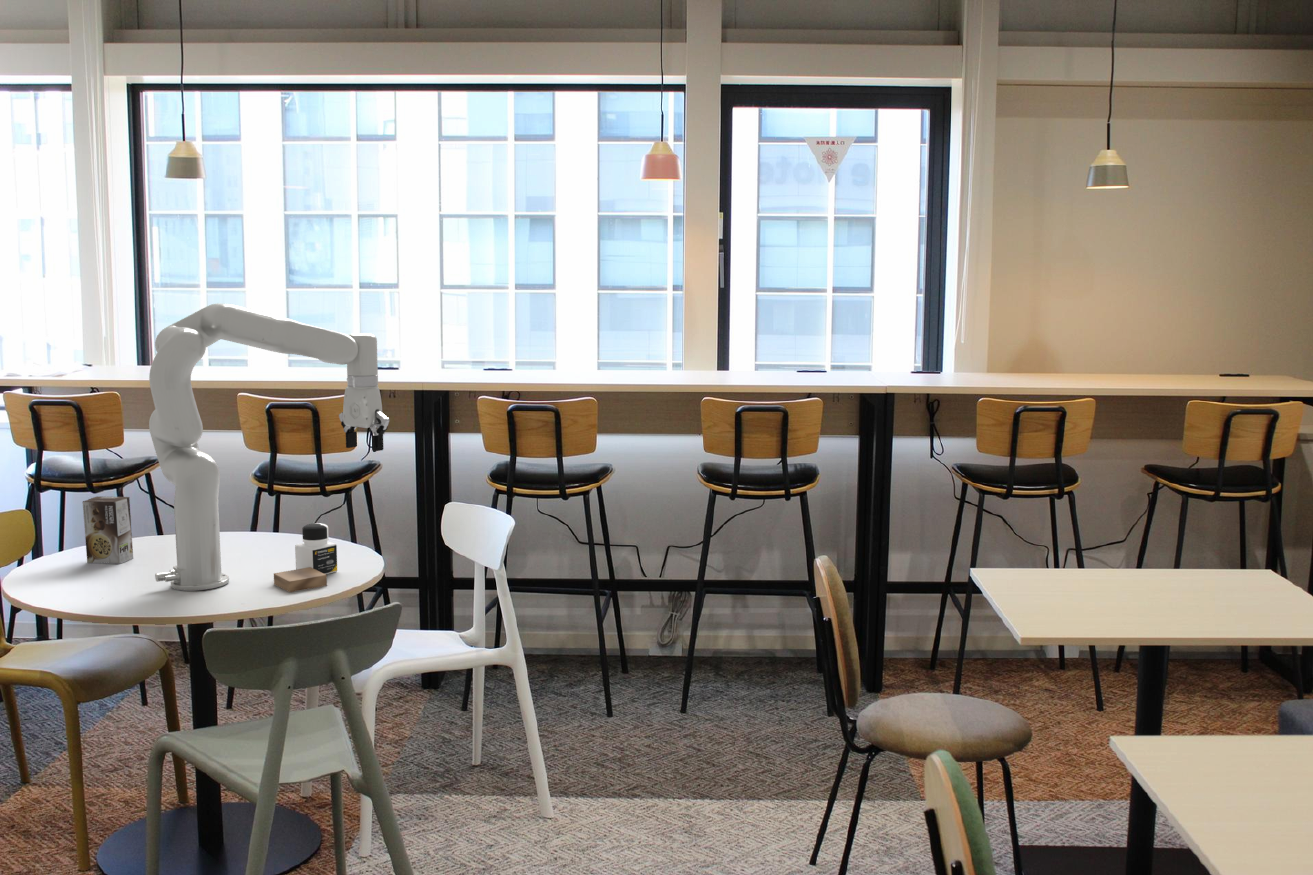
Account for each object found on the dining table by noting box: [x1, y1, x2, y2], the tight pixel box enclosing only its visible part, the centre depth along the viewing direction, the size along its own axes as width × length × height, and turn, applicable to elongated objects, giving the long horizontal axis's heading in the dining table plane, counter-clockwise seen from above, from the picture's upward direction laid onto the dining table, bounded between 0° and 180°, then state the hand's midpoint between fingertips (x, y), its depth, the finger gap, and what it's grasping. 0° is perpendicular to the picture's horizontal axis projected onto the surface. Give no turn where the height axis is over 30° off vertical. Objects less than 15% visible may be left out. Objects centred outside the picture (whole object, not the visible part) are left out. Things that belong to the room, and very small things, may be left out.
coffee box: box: [82, 496, 134, 565], centre depth 274 cm, size 9×6×16 cm
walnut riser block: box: [273, 567, 328, 593], centre depth 254 cm, size 9×9×3 cm
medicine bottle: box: [294, 522, 338, 575], centre depth 264 cm, size 7×7×12 cm
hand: (364, 448), depth 276 cm, fingers open, 9 cm apart
